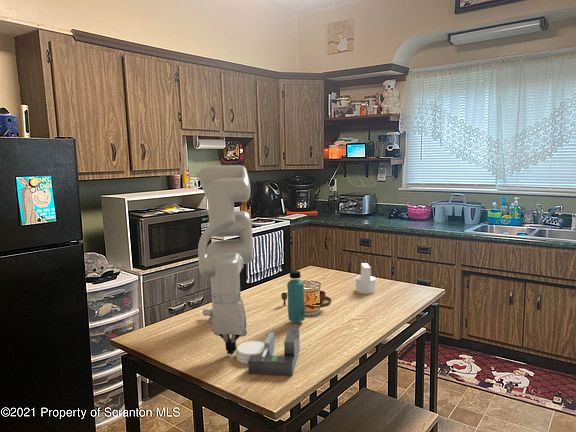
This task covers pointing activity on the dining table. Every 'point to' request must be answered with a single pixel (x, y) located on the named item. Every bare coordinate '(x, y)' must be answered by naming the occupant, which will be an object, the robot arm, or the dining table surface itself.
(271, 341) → the gauge plunger
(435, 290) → the dining table surface
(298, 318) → the beverage bottle
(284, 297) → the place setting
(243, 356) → the white round tin
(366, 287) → the cylinder with rectangular tab
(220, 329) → the robot arm
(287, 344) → the frame
